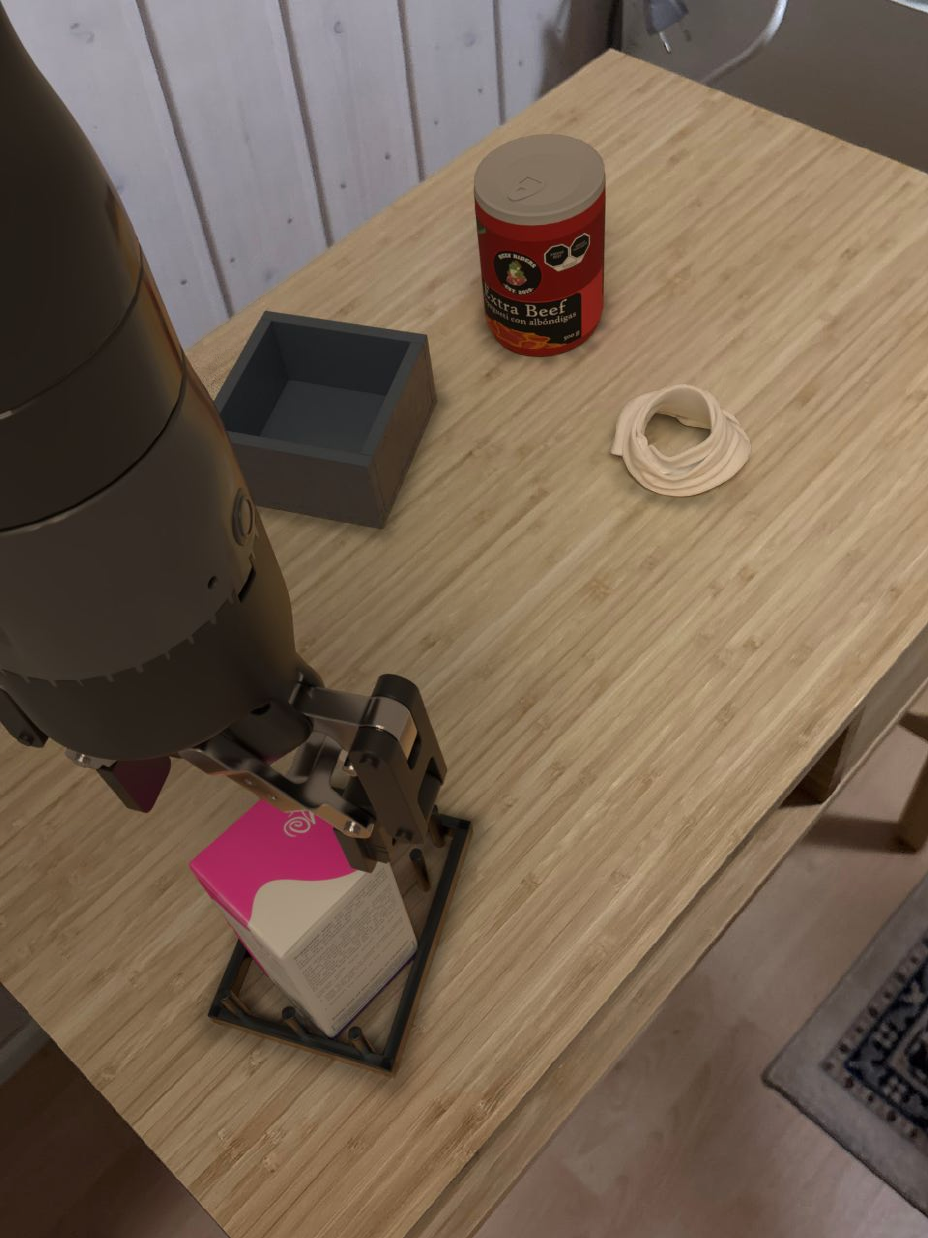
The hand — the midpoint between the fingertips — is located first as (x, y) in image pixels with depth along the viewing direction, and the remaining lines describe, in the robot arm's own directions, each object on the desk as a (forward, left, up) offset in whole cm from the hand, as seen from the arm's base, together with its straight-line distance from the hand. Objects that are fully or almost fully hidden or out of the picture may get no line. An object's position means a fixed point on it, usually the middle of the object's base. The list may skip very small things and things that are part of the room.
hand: (260, 816), depth 40 cm
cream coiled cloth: (+33, -9, -16) cm, 38 cm away
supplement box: (0, 0, -16) cm, 16 cm away
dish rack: (+1, 0, -16) cm, 16 cm away
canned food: (+43, +2, -16) cm, 46 cm away
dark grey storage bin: (+29, +12, -16) cm, 35 cm away
